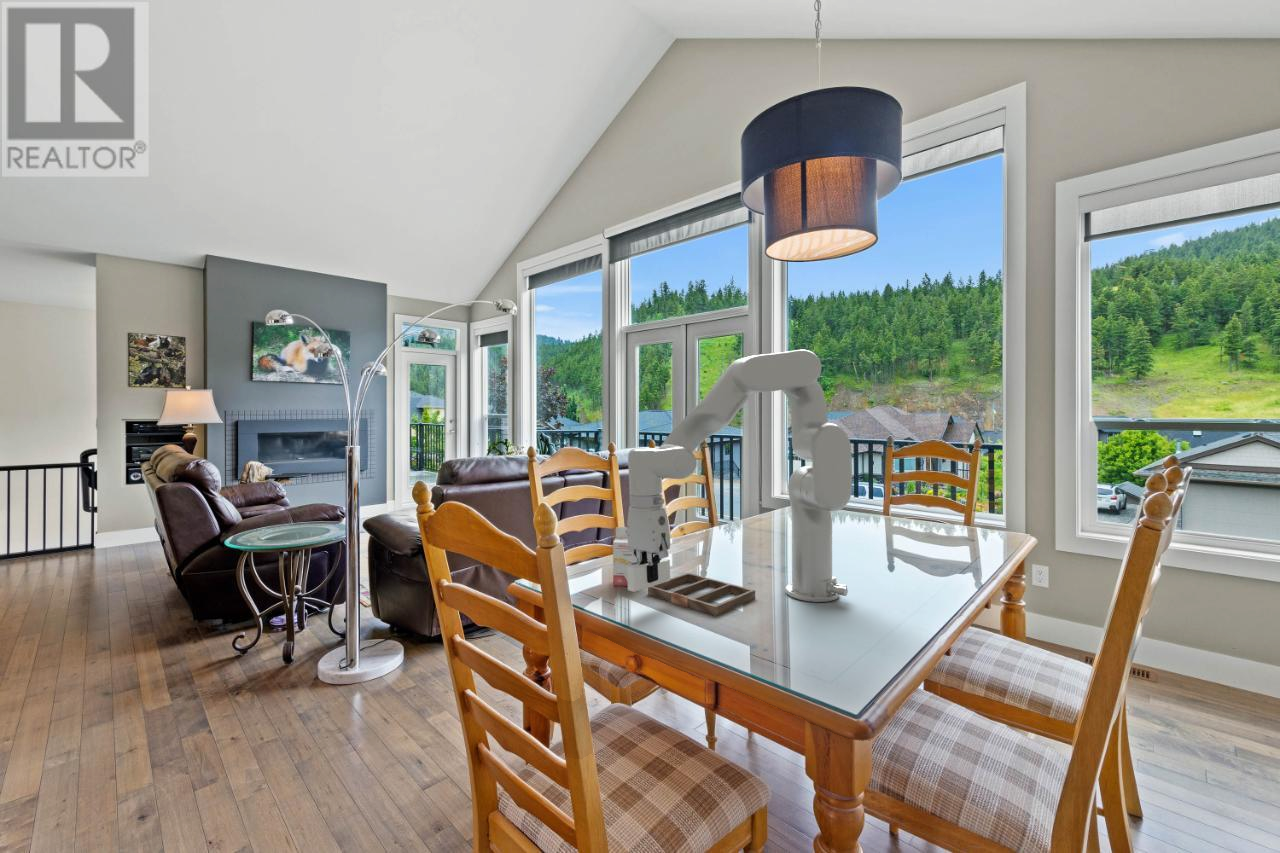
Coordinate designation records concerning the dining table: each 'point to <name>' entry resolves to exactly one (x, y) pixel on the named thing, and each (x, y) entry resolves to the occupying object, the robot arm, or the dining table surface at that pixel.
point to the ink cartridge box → (622, 558)
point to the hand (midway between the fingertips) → (649, 579)
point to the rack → (702, 593)
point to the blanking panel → (639, 575)
